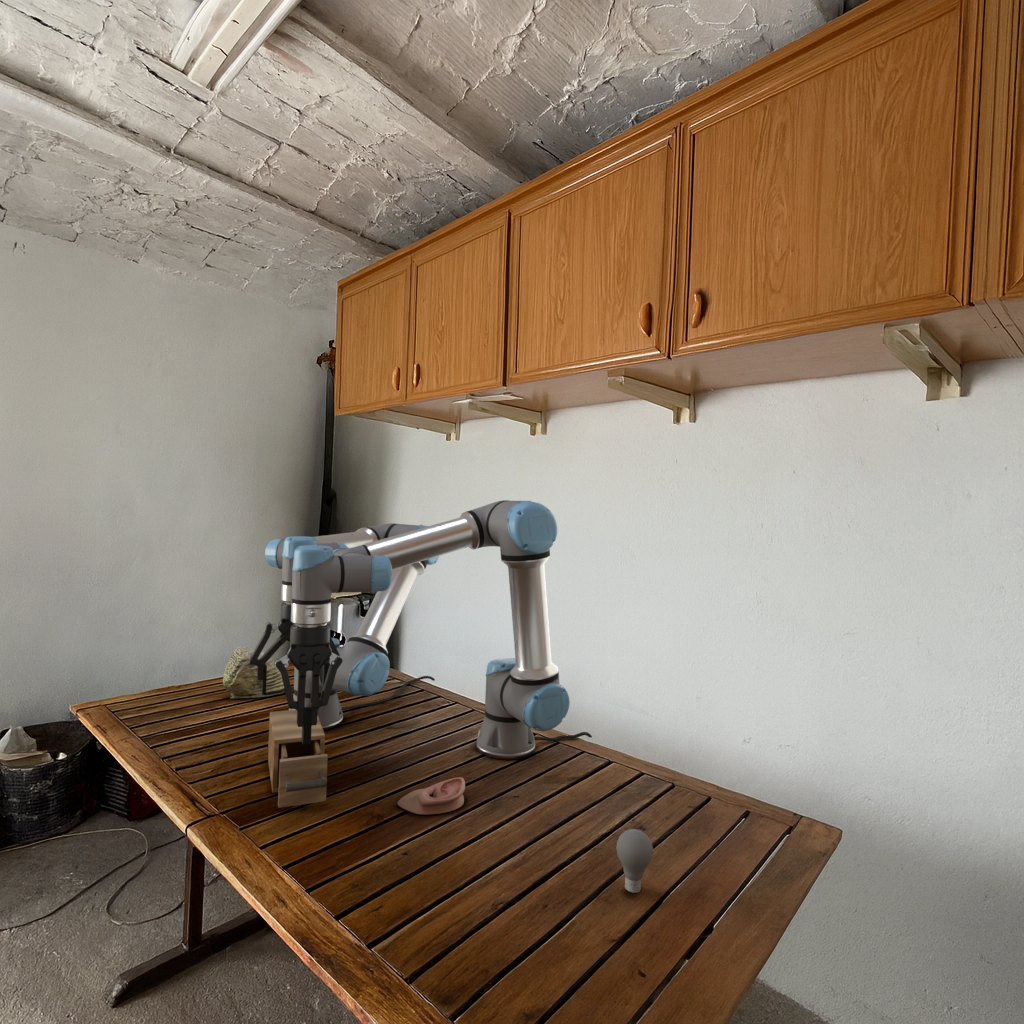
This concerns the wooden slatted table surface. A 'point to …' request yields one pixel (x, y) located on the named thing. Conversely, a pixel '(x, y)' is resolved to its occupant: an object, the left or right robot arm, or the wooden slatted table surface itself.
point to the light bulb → (634, 857)
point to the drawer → (301, 774)
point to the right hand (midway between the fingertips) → (306, 741)
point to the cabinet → (287, 738)
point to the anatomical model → (435, 798)
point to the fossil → (250, 676)
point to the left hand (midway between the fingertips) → (294, 691)
